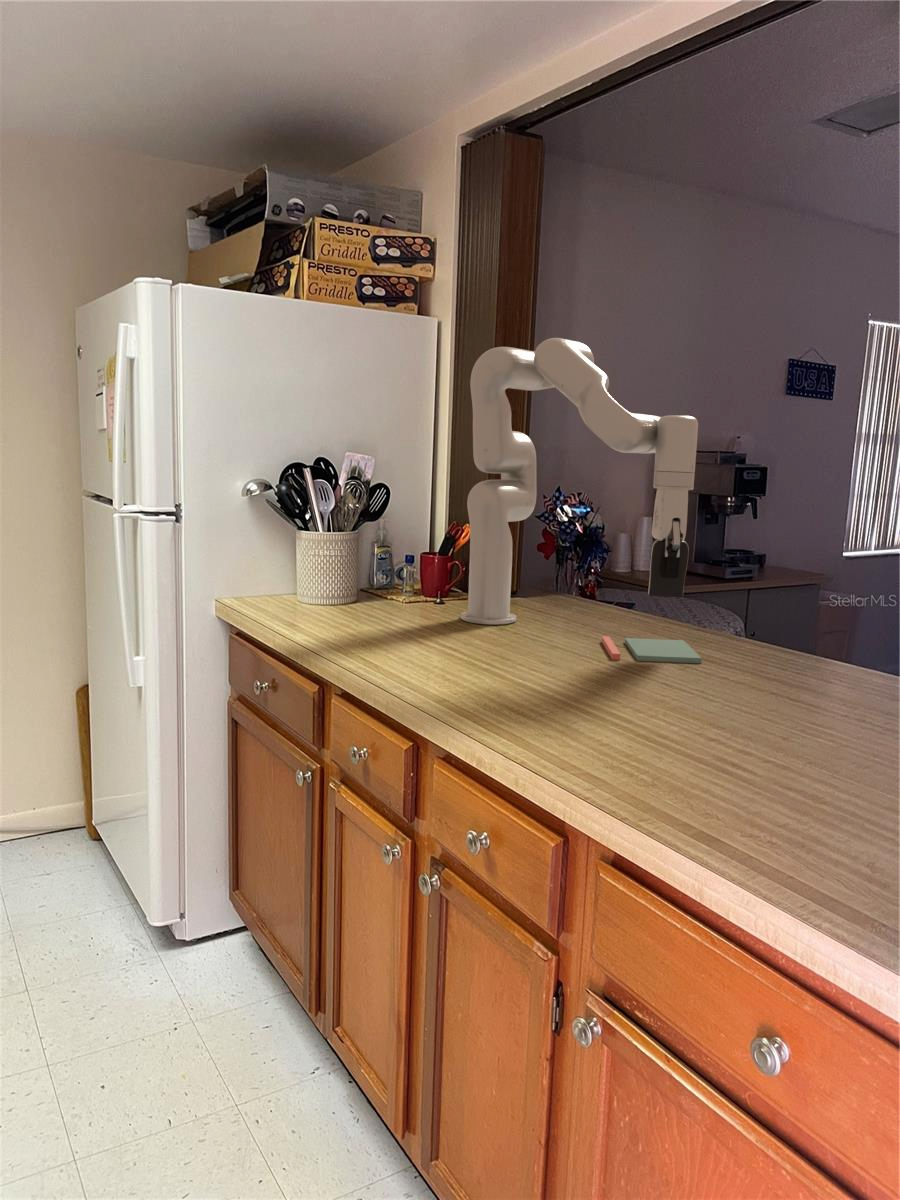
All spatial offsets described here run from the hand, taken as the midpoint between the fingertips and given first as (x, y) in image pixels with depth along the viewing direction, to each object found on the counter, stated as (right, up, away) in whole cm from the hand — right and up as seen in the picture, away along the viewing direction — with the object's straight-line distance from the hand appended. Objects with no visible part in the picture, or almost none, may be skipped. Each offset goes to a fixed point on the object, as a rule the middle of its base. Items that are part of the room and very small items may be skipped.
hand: (666, 575), depth 178 cm
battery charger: (0, -4, +2) cm, 4 cm away
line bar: (-11, -15, +3) cm, 18 cm away
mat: (-1, -15, +3) cm, 15 cm away
